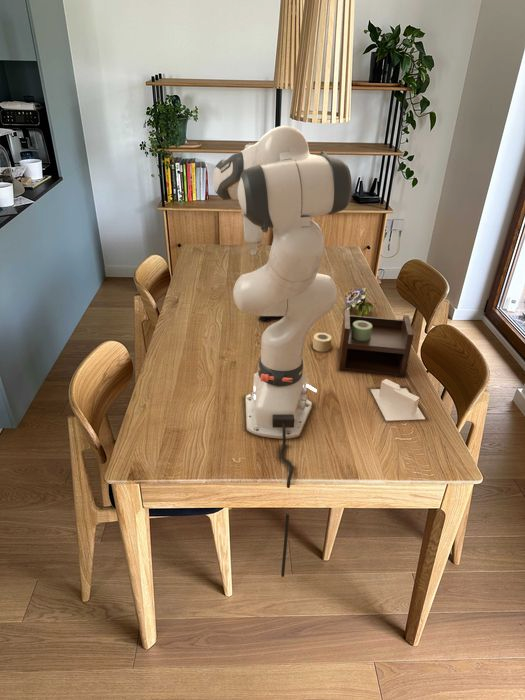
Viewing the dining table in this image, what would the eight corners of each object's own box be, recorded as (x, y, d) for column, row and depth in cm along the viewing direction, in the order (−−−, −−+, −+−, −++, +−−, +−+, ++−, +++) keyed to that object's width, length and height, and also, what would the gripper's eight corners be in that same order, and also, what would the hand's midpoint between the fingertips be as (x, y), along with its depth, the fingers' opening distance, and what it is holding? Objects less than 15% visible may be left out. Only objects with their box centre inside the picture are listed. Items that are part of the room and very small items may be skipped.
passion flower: (346, 322, 197) (340, 293, 198) (373, 317, 197) (367, 288, 198) (351, 319, 186) (345, 288, 187) (380, 313, 186) (373, 282, 187)
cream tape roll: (330, 352, 166) (331, 341, 164) (312, 350, 167) (313, 340, 165) (330, 343, 171) (331, 333, 169) (313, 342, 172) (314, 331, 170)
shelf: (404, 377, 155) (413, 334, 147) (339, 370, 157) (344, 328, 149) (400, 355, 166) (408, 314, 159) (339, 349, 168) (344, 309, 161)
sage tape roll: (371, 341, 153) (373, 330, 151) (351, 339, 153) (353, 328, 151) (370, 332, 158) (372, 321, 156) (351, 330, 159) (352, 319, 156)
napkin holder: (426, 419, 137) (430, 402, 134) (386, 421, 135) (389, 404, 132) (406, 387, 150) (409, 371, 147) (369, 389, 148) (372, 373, 145)
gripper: (252, 193, 153) (251, 237, 160) (240, 210, 135) (239, 259, 142) (272, 194, 152) (270, 239, 159) (263, 212, 135) (261, 261, 142)
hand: (255, 248), depth 150 cm, fingers open, 8 cm apart
